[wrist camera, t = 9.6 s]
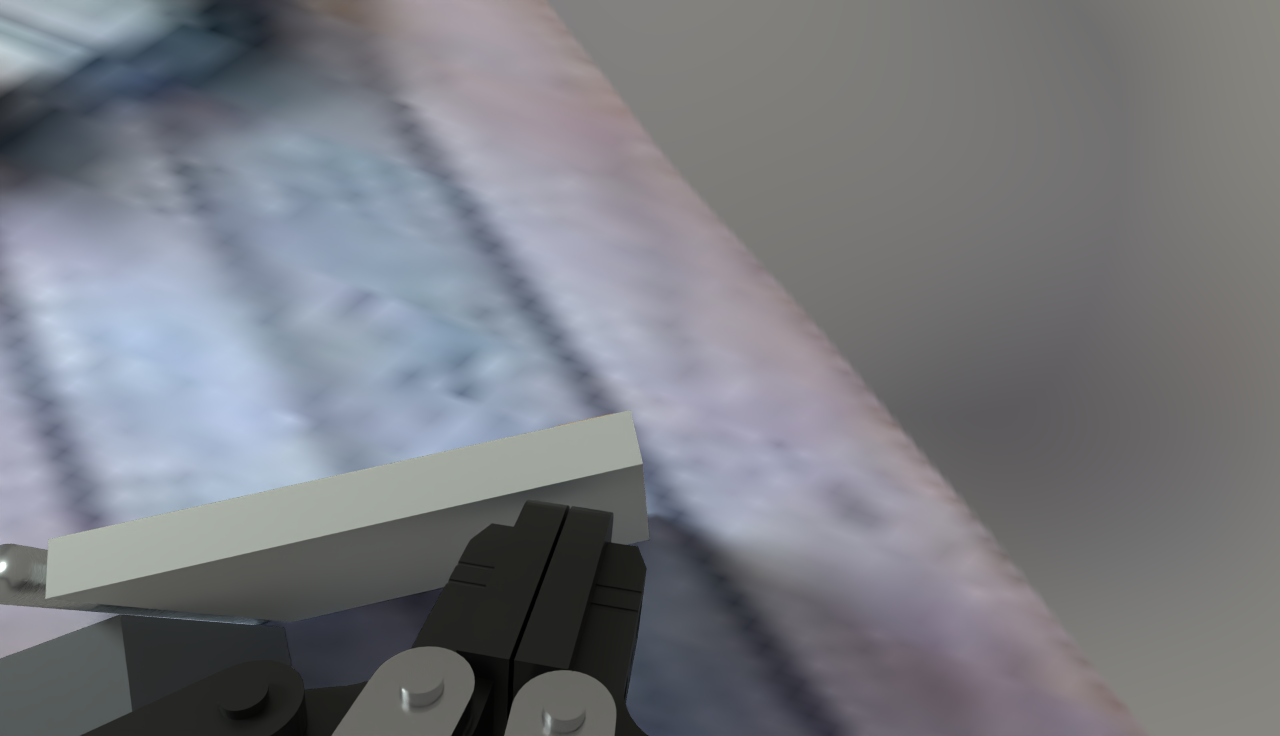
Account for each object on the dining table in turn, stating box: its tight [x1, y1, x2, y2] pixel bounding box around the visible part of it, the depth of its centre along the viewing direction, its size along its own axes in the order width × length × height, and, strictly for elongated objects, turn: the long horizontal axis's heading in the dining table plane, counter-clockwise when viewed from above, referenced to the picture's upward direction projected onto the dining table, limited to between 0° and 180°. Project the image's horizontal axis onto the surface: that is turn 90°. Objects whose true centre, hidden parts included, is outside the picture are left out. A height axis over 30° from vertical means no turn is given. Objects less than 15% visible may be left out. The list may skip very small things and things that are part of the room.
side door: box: [45, 410, 649, 622], centre depth 18 cm, size 10×2×9 cm, turn 103°
